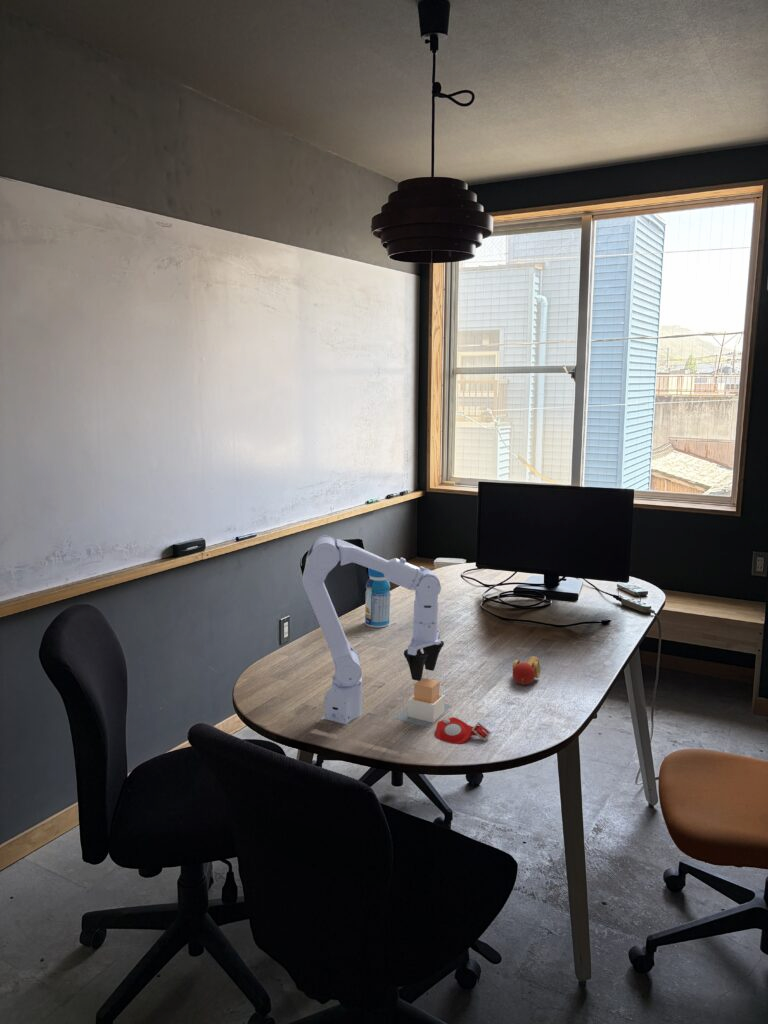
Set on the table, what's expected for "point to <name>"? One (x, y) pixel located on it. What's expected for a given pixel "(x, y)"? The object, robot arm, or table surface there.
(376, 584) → the beverage bottle
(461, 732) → the tracker holder
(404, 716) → the baseplate
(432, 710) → the cream base block
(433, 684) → the orange block
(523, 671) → the kendama
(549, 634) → the table surface
